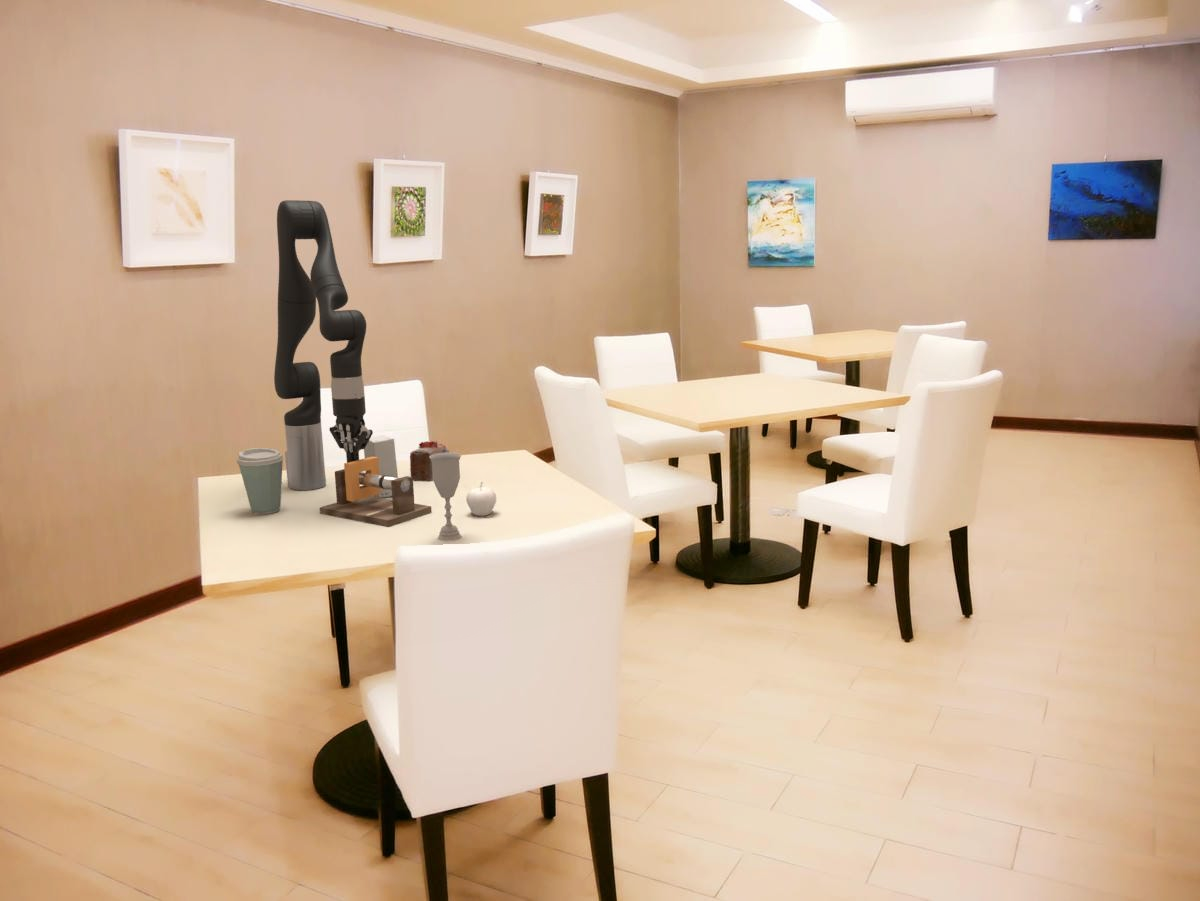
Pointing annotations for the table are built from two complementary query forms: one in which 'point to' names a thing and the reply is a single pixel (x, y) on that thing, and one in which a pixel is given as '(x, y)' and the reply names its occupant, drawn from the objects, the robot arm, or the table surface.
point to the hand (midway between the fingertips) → (353, 466)
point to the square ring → (352, 478)
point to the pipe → (380, 481)
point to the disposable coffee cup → (262, 478)
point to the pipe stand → (376, 504)
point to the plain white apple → (481, 500)
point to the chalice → (446, 487)
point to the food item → (424, 460)
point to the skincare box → (383, 458)
